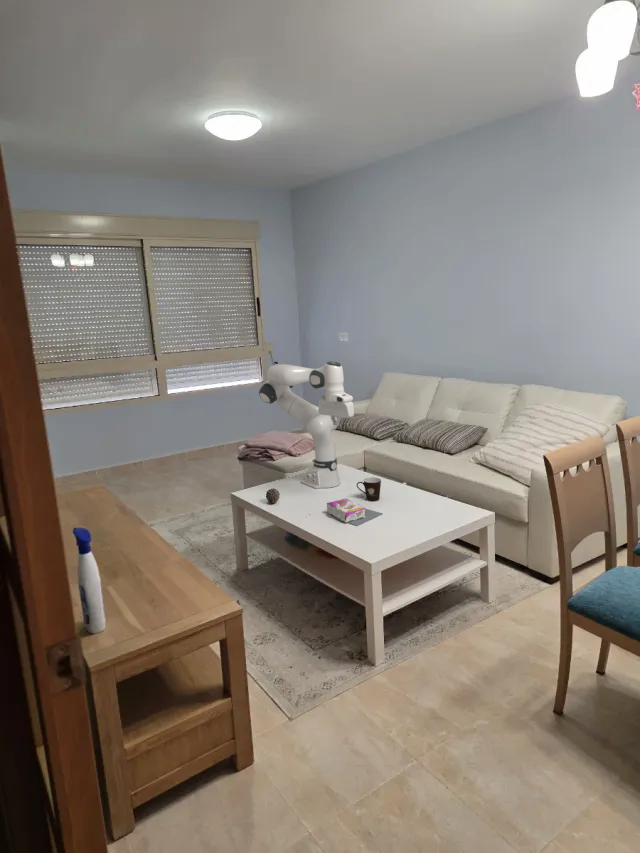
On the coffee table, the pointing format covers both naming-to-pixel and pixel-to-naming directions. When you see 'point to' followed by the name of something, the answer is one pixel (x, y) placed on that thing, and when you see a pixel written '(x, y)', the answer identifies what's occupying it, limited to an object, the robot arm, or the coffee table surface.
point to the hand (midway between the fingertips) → (336, 425)
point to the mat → (369, 516)
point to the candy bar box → (346, 510)
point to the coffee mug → (371, 488)
